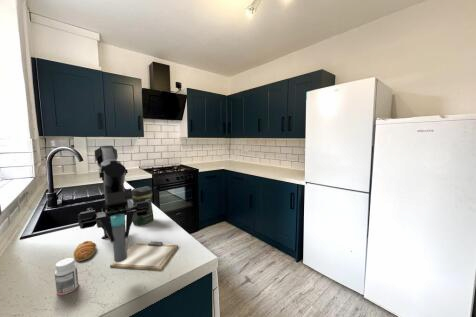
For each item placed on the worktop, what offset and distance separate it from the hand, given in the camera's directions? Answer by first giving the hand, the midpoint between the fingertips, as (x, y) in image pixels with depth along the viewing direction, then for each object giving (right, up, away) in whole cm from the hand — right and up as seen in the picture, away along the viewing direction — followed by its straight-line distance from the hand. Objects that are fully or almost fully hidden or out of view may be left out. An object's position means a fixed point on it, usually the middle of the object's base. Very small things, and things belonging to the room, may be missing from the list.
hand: (119, 239), depth 57 cm
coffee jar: (-15, -9, +44) cm, 47 cm away
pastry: (-23, -13, +16) cm, 31 cm away
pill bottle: (-14, -14, -1) cm, 20 cm away
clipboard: (+1, -12, +14) cm, 19 cm away
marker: (-1, -6, +2) cm, 7 cm away
